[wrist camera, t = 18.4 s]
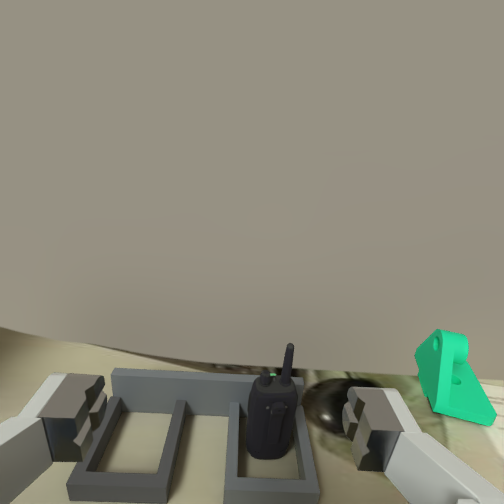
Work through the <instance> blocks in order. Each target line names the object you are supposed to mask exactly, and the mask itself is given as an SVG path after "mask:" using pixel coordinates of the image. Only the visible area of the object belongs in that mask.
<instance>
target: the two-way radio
mask: <svg viewBox="0 0 504 504" xmlns="http://www.w3.org/2000/svg"><path fill="white" fill-rule="evenodd" d="M293 352H294V345H293V344H292V343H289V344H288V345H287V348H286V353H285V357H284V363H283V368H282V374H281V376H270V372H269V371H268V370H263V371H262V372H261V375H260V377H257V378H256V379H255V380H254V382H253V385H252V389H251V391H250V394H249V399H248V407H247V411H248V418H247V428H246V448H247V451H248V452H249V453H250V454H251V456H253V457H254V458H257V459H276V458H280V457H282V456H283V455H284V454H285V453H286V450H287V448H288V445H289V440H290V436H291V433H292V428H293V422H294V417H295V411H296V408H297V402H298V394H297V390H296V386H295V383H294V381H293V380H292V379H291V370H292V362H293Z"/></svg>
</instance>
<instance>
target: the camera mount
mask: <svg viewBox="0 0 504 504" xmlns="http://www.w3.org/2000/svg"><path fill="white" fill-rule="evenodd" d="M468 349H469V346H468V340H467V338H466V336H465V335H463V334H459V333H455V332H450V331H445V330H440V329H436V330H435V331H434V332H433V333H432V334H431V335H430V336H429V337H428V338H427V339H426V340H425V341H424V342H423V343H422V344H421V345H420V346H419V347H418V348H417V350H416V353H415V359H416V362H417V365H418V367H419V373H418V375H417V376H418V377H419V380H420V383H421V386H422V390H423V393H424V396H425V397H428V398H429V401H430V404H431V407H432V410H433V412H437V413H441V414H445V415H449V416H452V417H456V418H460V419H464V420H467V421H471V422H475V423H479V424H483V425H486V426H491V425H492V424H493V422H494V420H495V418H496V416H497V414H496V412H495V410H494V408H493V406H492V405H491V403H490V401H489V399H488V397H487V396H486V394H485V392H484V390H483V389H482V387H481V385H480V383H479V381H478V380H477V378H476V376H475V374H474V372H473V371H472V369H471V367H470V365H469V364H468V363H467V361H466V359H467V356H468V351H469V350H468Z"/></svg>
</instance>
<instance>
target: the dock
mask: <svg viewBox="0 0 504 504" xmlns="http://www.w3.org/2000/svg"><path fill="white" fill-rule="evenodd" d="M270 376H276V374H270ZM257 377H260V375H241V374H222V373H203V372H184V371H165V370H146V369H127V368H114V370H113V372H112V374H111V382H112V391H113V397H121V407H122V411H124V412H146V413H167V414H173V411H174V407H175V403H176V400H186V414H189V415H210V416H229V423H228V439H227V455H226V470H225V486H224V501H223V504H318V500H319V496H320V490H319V485H318V480H317V475H316V470H315V465H314V460H313V455H312V450H311V445H310V440H309V435H308V430H307V425H306V420H305V415H304V410H303V406H300V405H301V400H302V395H303V389H304V381H303V378H298V377H291V379H292V380H293V381H294V383H295V386H296V390H297V394H298V402H297V408H296V411H295V417H294V422H293V428H292V429H293V436H294V443H295V449H296V456H297V463H298V469H299V476H300V480H298V479H272V478H245V477H237V466H238V432H239V417H248V411H247V407H248V399H249V394H250V391H251V389H252V385H253V382H254V380H255V379H256V378H257Z"/></svg>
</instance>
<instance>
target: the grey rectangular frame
mask: <svg viewBox="0 0 504 504" xmlns="http://www.w3.org/2000/svg"><path fill="white" fill-rule="evenodd" d="M121 413H122V407H121V397H112V396H111V397H110V399H109V401H108V403H107V408H106V412H105V416H104V419H103V421H102V423H101V425H100V427H99V428H97V429H96V430H95V431H94V432H92V434H93V442H92V444H91V446H90V448H89V450H88V452H87V455H86V457H85V459H84V461H83V462H77V464H76V465H75V467H74V469H73V471H72V473H71V475H70V477H69V479H68V481H67V483H66V487H67V491H68V495H69V500H70V501H98V502H128V503H157V504H167V500H168V495H169V491H170V486H171V481H172V477H173V472H174V468H175V463H176V458H177V454H178V449H179V444H180V440H181V435H182V430H183V426H184V421H185V416H186V400H176V403H175V407H174V411H173V415H172V418H171V422H170V426H169V430H168V434H167V438H166V441H165V445H164V449H163V453H162V457H161V460H160V464H159V468H158V472H157V474H140V473H113V472H95V471H96V469H97V467H98V464H99V462H100V460H101V458H102V455H103V453H104V451H105V449H106V446H107V444H108V442H109V440H110V437H111V435H112V433H113V431H114V428H115V426H116V424H117V422H118V419H119V417H120V415H121Z"/></svg>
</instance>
